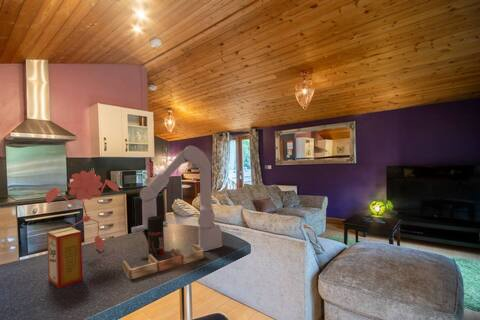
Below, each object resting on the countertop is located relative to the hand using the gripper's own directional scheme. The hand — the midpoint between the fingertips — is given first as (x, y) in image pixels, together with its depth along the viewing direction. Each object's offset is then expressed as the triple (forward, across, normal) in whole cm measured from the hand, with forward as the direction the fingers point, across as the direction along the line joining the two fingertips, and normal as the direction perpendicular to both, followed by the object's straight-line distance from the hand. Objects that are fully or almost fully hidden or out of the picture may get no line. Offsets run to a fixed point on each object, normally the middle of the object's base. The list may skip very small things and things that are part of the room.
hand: (150, 246), depth 106 cm
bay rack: (+1, 0, +18) cm, 18 cm away
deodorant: (+2, 0, +8) cm, 8 cm away
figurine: (+2, +22, -10) cm, 24 cm away
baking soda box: (+2, +30, +10) cm, 32 cm away
